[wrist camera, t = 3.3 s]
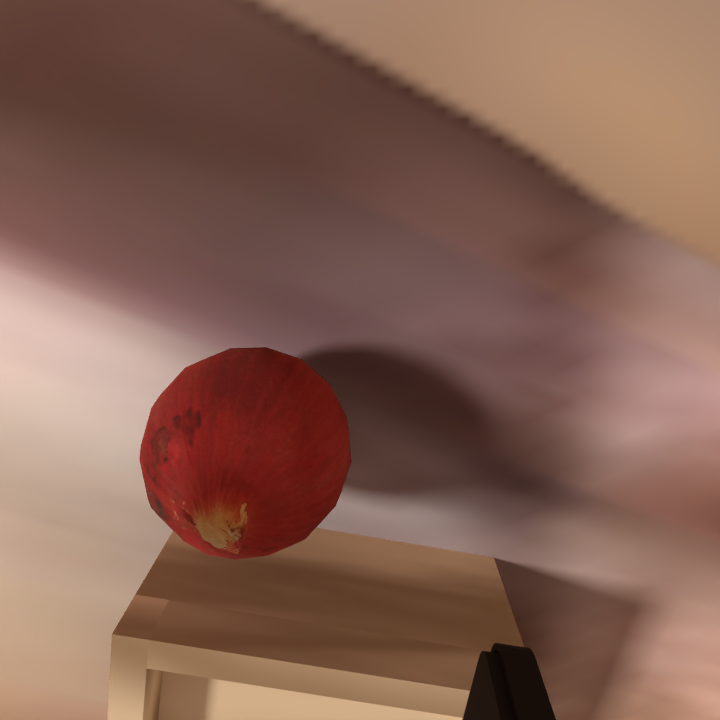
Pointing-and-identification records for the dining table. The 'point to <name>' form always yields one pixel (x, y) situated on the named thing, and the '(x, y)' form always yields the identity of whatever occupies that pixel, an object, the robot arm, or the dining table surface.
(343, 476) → the onion
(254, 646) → the beige square hollow tray
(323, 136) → the dining table surface
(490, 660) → the robot arm
